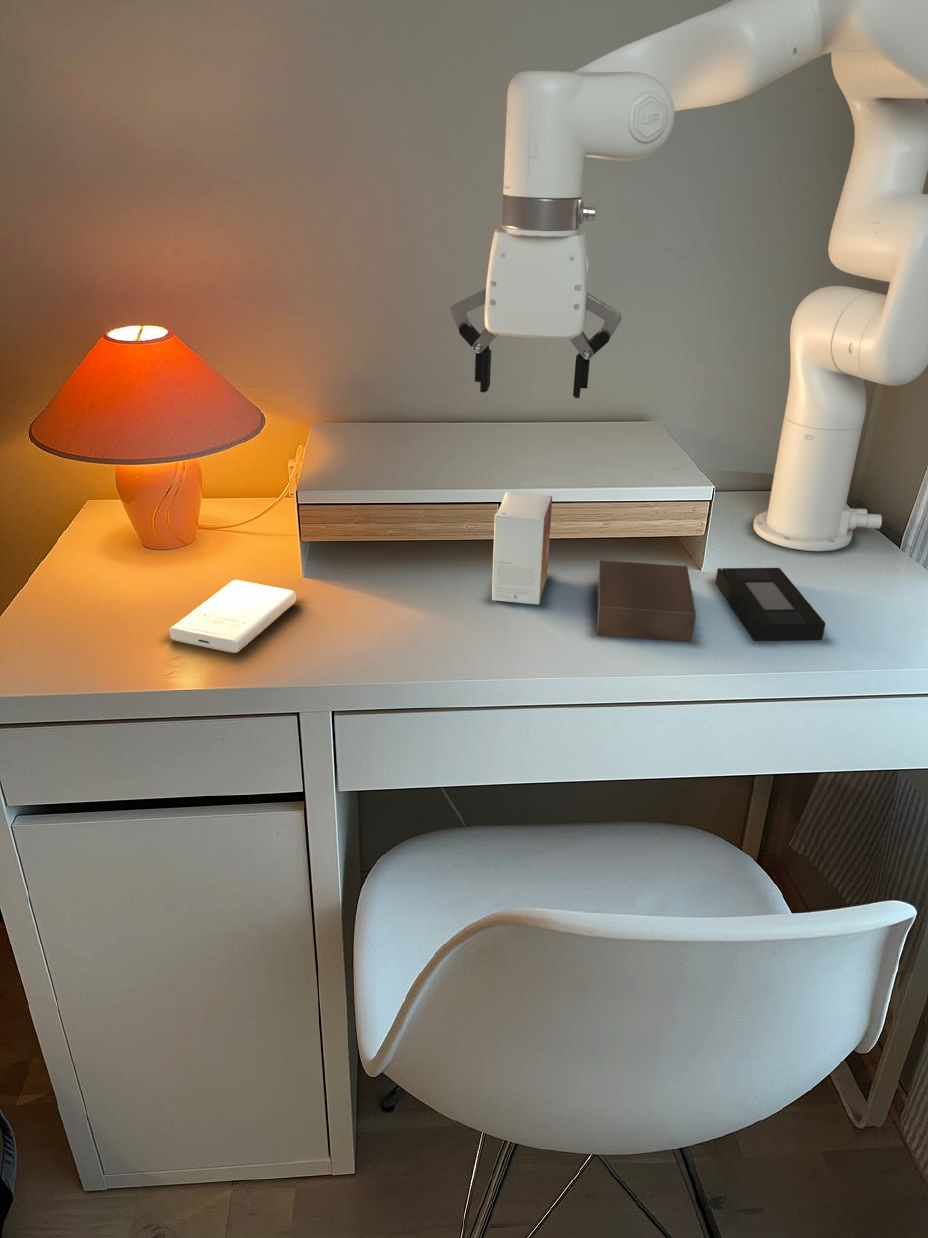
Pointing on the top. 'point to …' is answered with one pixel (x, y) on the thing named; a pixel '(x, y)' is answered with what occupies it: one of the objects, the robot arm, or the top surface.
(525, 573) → the small box
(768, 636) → the vhs tape
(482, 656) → the top surface
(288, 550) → the top surface
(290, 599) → the hard drive
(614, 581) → the walnut block
